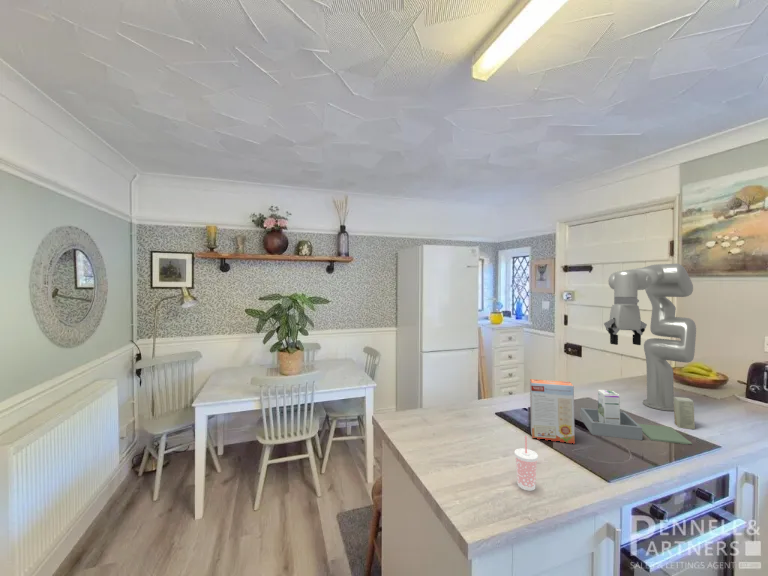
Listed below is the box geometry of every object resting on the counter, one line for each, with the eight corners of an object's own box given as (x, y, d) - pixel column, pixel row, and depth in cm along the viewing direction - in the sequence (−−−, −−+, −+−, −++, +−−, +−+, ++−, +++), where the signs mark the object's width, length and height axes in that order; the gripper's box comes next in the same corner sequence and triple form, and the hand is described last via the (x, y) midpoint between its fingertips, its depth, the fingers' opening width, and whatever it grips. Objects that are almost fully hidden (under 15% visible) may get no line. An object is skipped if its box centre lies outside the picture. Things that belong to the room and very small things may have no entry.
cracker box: (571, 437, 120) (570, 381, 120) (575, 444, 114) (574, 385, 114) (530, 432, 124) (529, 378, 124) (531, 439, 119) (531, 382, 119)
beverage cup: (513, 477, 94) (513, 429, 94) (536, 481, 93) (536, 432, 93) (515, 490, 88) (515, 439, 89) (540, 494, 87) (539, 442, 87)
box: (690, 425, 129) (689, 397, 129) (695, 429, 125) (694, 401, 125) (673, 423, 132) (673, 396, 132) (677, 427, 128) (677, 399, 128)
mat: (634, 424, 130) (634, 423, 130) (671, 428, 127) (671, 427, 127) (651, 440, 117) (651, 438, 117) (692, 445, 113) (692, 443, 113)
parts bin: (580, 418, 137) (580, 407, 137) (624, 422, 132) (624, 411, 132) (591, 434, 122) (591, 422, 122) (642, 440, 117) (642, 427, 117)
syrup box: (621, 432, 124) (620, 394, 124) (604, 431, 125) (603, 393, 125) (613, 426, 129) (613, 389, 129) (597, 424, 130) (597, 389, 131)
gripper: (637, 302, 134) (637, 343, 133) (598, 301, 133) (598, 342, 132) (654, 302, 126) (653, 346, 126) (612, 301, 125) (612, 345, 125)
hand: (625, 344), depth 129 cm, fingers open, 9 cm apart
